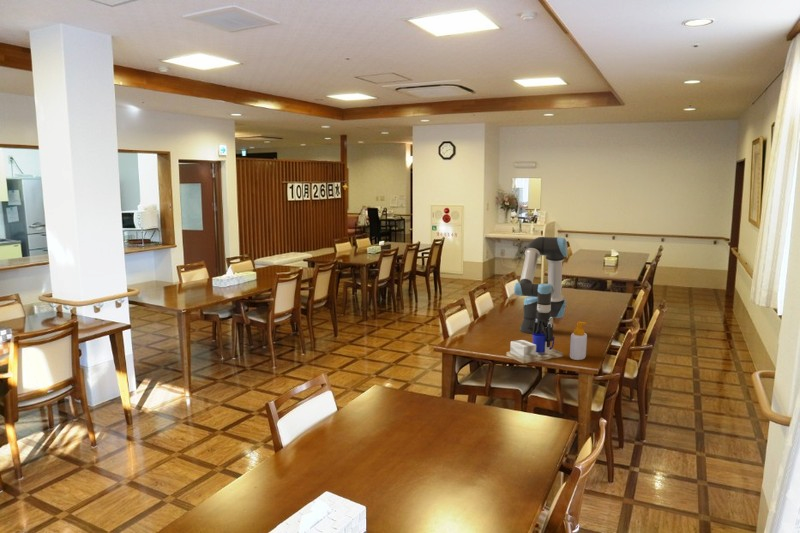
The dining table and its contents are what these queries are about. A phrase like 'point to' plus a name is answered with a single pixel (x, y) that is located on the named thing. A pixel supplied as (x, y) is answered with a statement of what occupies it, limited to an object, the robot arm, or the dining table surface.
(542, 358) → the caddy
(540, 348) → the mug
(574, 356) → the soap bottle
